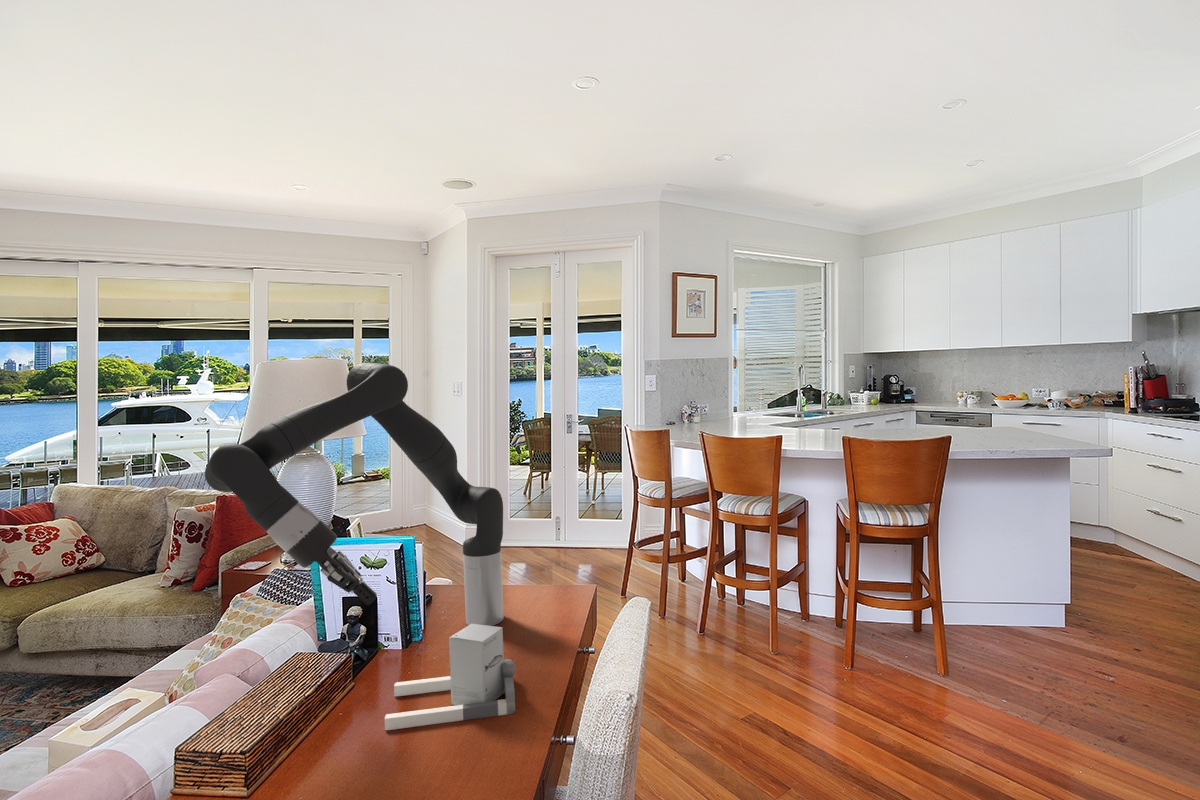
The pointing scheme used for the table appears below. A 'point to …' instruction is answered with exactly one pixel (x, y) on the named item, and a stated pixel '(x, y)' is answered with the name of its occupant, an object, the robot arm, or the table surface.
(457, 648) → the supplement box
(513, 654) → the table surface
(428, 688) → the guide channel
